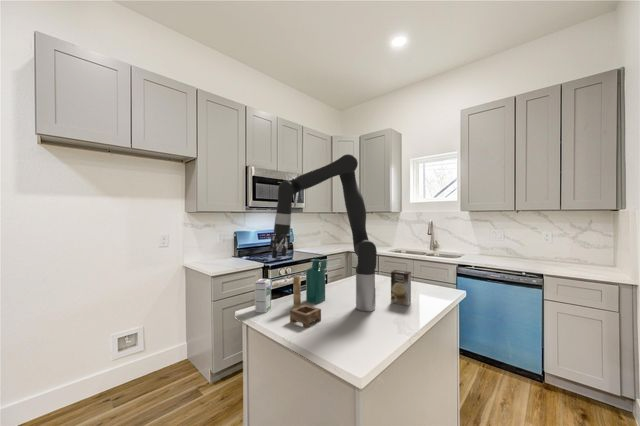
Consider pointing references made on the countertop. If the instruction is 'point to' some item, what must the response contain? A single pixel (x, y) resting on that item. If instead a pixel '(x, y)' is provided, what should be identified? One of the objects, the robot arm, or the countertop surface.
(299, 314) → the brown wooden square frame
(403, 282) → the coffee box
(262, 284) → the syrup box
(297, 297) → the rod
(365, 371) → the countertop surface
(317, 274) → the teal bottle
